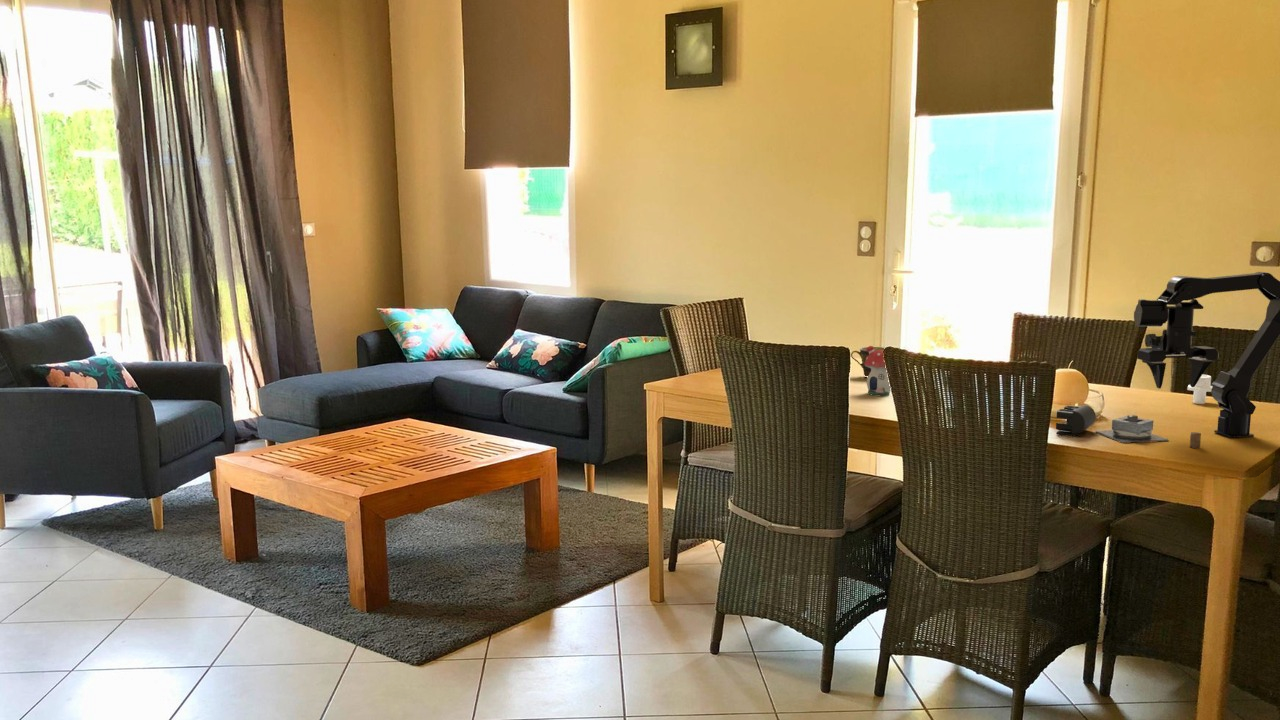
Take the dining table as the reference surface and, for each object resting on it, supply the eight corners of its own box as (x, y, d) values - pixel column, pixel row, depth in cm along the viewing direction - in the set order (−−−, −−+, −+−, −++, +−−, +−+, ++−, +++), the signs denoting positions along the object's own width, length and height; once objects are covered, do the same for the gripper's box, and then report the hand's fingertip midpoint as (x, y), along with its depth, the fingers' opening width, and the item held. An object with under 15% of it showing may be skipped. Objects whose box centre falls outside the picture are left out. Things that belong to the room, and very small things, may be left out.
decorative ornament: (860, 393, 321) (861, 345, 318) (875, 390, 324) (876, 344, 322) (881, 397, 313) (882, 349, 311) (897, 395, 316) (898, 347, 314)
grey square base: (1125, 425, 262) (1126, 416, 261) (1152, 429, 256) (1153, 420, 256) (1111, 429, 257) (1112, 419, 257) (1139, 433, 252) (1139, 424, 251)
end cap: (1084, 438, 256) (1085, 412, 255) (1055, 434, 261) (1056, 409, 260) (1095, 431, 264) (1096, 405, 263) (1067, 427, 268) (1068, 402, 267)
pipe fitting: (1217, 404, 295) (1219, 377, 294) (1192, 404, 295) (1194, 377, 294) (1205, 400, 301) (1207, 373, 300) (1181, 400, 301) (1183, 374, 300)
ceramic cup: (887, 375, 352) (887, 346, 351) (891, 380, 342) (892, 351, 341) (849, 375, 353) (849, 346, 352) (852, 380, 343) (852, 351, 342)
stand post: (1195, 446, 247) (1196, 432, 246) (1202, 448, 244) (1203, 434, 244) (1187, 446, 246) (1188, 432, 246) (1193, 448, 244) (1194, 434, 244)
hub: (1138, 430, 264) (1140, 410, 263) (1168, 441, 252) (1169, 419, 251) (1095, 432, 262) (1096, 412, 261) (1123, 443, 250) (1124, 421, 250)
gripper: (1192, 321, 264) (1188, 381, 267) (1125, 324, 262) (1122, 383, 264) (1222, 326, 254) (1217, 388, 256) (1153, 329, 251) (1149, 391, 253)
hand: (1175, 387), depth 258 cm, fingers open, 9 cm apart
